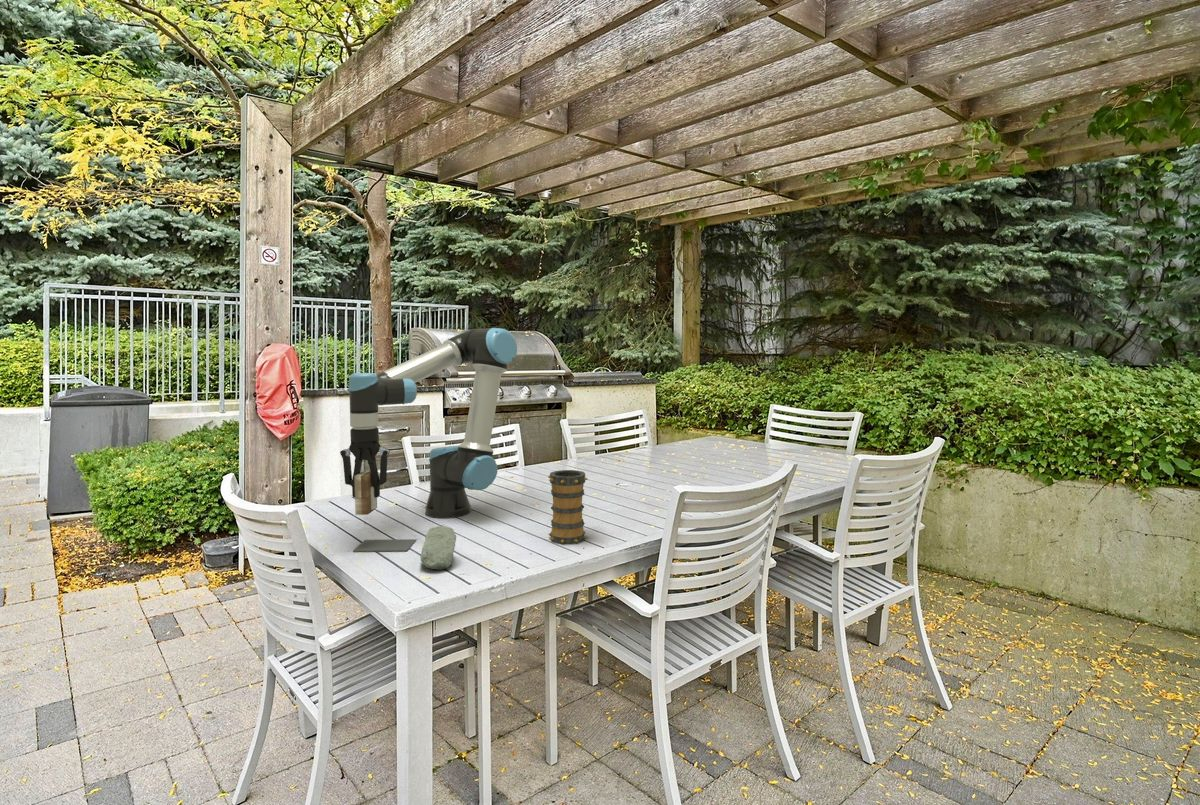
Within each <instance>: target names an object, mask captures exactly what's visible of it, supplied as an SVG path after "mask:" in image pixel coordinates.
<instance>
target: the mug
mask: <svg viewBox="0 0 1200 805" xmlns="http://www.w3.org/2000/svg"><path fill="white" fill-rule="evenodd" d="M586 476H587V475H586V472H584V471H581V470H575V469H561V470H555V471H552V472H550V473H549V475H548V476H547V478H549V479H548V481H549V484H551V489H550V493H551V496H552V506H550V510H552V519H551V520H550V522H551V524H550V525H551V531H550V533H547V535H548V536H549V538H548V540H550V541H551V543H554V544H556V545H557V544H558V545H576V544H579V543H582V542H585V540H586V539H588V538H589V537H588V536H586V531H585V530H584V525H585V522H584V519H583V510H584V508H585V506H584V504H583V496H584V495H585V489H584V484H585V483H586V481H587V480H588V481H589V478H588V477H586Z"/></svg>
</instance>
